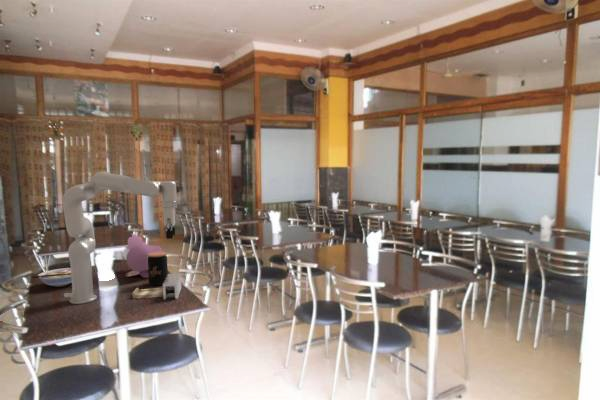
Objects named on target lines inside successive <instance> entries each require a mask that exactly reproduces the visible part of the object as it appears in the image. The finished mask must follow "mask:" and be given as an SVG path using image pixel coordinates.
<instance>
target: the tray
mask: <svg viewBox="0 0 600 400" xmlns="http://www.w3.org/2000/svg"><path fill="white" fill-rule="evenodd" d="M131 294H132V299H133V300H134V299H135V298H137V299H151V298H163V287H158V288H144V289H143V288H141V289H139V287H136V288H135V289H134V290H133V292H132V293H131Z"/></svg>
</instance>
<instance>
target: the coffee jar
mask: <svg viewBox="0 0 600 400" xmlns="http://www.w3.org/2000/svg"><path fill="white" fill-rule="evenodd" d="M167 255H168V254H167V252H166V251H162V252H152V253H149V254H148V275H149V277H148V284H149V286H152V287H163V283H164V281H165V279H166V277H167V275H168V274H169V272H168V271H169V270H168V256H167Z"/></svg>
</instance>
